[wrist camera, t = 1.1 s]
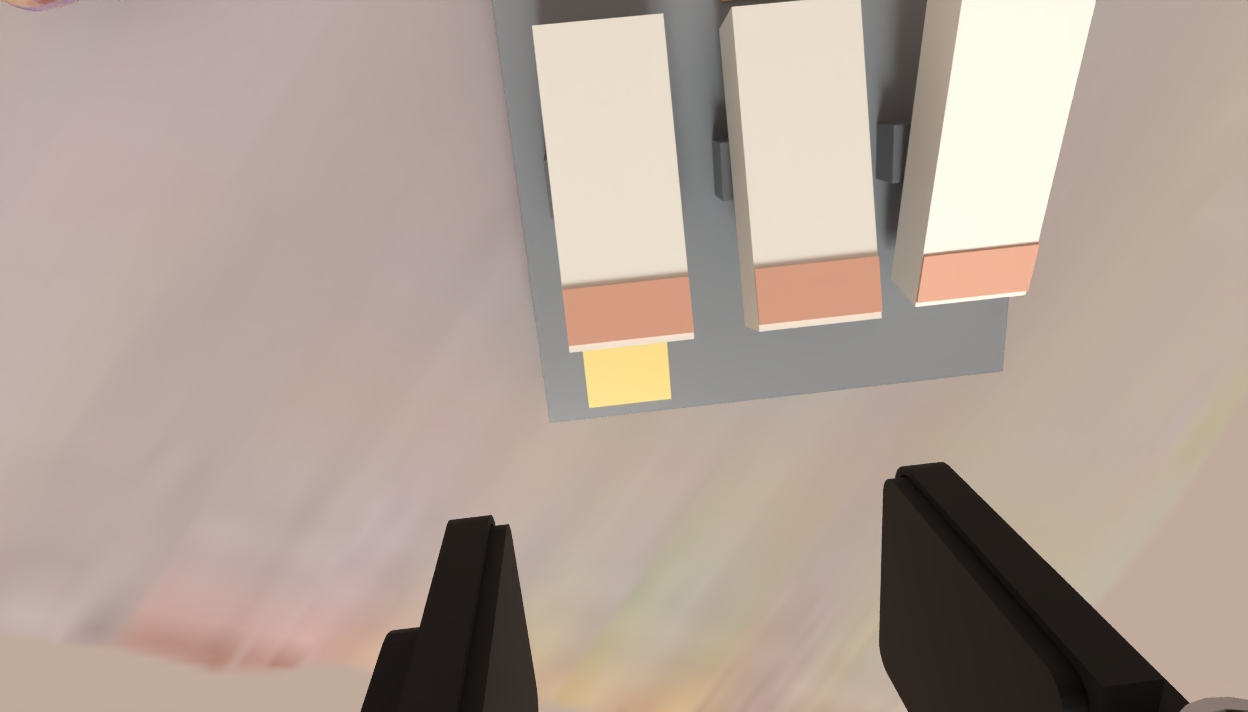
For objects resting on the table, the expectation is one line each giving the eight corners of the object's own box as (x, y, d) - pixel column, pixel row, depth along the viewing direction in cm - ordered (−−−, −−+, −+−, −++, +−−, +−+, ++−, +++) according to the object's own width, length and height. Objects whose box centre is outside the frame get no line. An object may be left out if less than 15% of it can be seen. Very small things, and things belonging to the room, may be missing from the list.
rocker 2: (719, 29, 23) (732, 5, 21) (836, 18, 23) (861, -7, 21) (744, 326, 24) (760, 331, 22) (857, 314, 24) (882, 318, 22)
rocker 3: (929, -12, 21) (964, -2, 19) (1055, -24, 21) (1101, -15, 20) (891, 278, 26) (916, 308, 24) (994, 267, 26) (1026, 296, 24)
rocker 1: (536, 47, 23) (531, 24, 21) (656, 35, 23) (663, 12, 21) (571, 345, 24) (569, 353, 22) (685, 333, 24) (694, 339, 22)
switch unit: (489, -80, 26) (471, -121, 21) (978, -123, 27) (1075, -173, 22) (551, 383, 32) (548, 439, 27) (951, 338, 32) (1023, 385, 27)
